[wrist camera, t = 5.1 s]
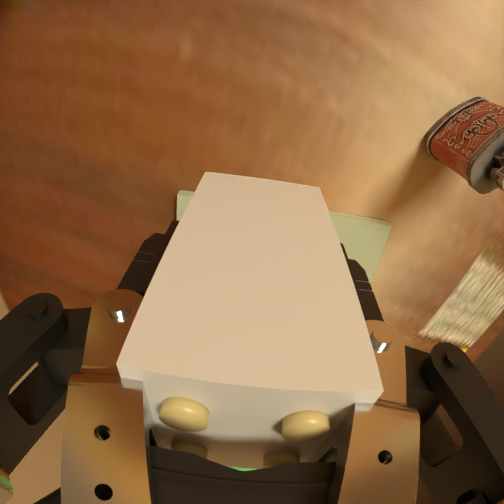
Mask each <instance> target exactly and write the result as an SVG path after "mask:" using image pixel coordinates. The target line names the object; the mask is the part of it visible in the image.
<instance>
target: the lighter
mask: <svg viewBox="0 0 504 504" xmlns="http://www.w3.org/2000/svg"><path fill="white" fill-rule="evenodd" d="M423 146H424V149H425V151H426V153H427V154H428V155H429V156H431V157H432V158H433V159H435V160H436V161H441V162H443V163H444V164H446V165H447V166H448V167H450V168H451V169H452V170H454V171H455V172H457V173H458V174H459V175H461V176H462V177H463V178H465V179H466V180H467V182H468V184H469V185H470V186H471V187H472V188H473V189H475V190H476V191H477V192H478V193H481V194H486V193H489V192H491V191H493V190H494V189H496V188H498V187H499V188H500V189H501V190H502V191H504V107H502V106H499V105H496V104H493V103H490V102H489V101H488V100H487V99H484V98H481V97H475V98H472V99H470V100H467V101H465V102H463V103H461V104H459V105H458V106H456V107H454V108H453V109H451V110H450V111H448V112H447V113H446V114H445V115H444V116H442V117H441V118H440V119H439V120H438V121H437V122H436V123H435V124H434V125H433V126H432V127H431V128H430V129H429V130H428V132H427V133H426V134H425V136H424V139H423Z"/></svg>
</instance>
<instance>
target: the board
mask: <svg viewBox="0 0 504 504" xmlns="http://www.w3.org/2000/svg"><path fill="white" fill-rule="evenodd" d="M194 193H195V192H192V191H183V190H180V191H179V193H178V194H177V221H180V220H181V218H182V216H183V214H184V212H185V210H186V208H187V206H188V204H189V202H190V200H191V198H192V196H193V194H194ZM329 214H330V217H331V220H332V222H333V225H334V228H335V230H336V233H337V236H338V239H339V242H340V243H343V245H344V248H345V251H346V253H347V256H348V259H353V260H356V261H357V262H358V263H359V264H360V265H361V266H362V268H363V269H364V270H365V272H366V274H367V277H368V280H369V283H370V282H371V280H372V278H373V275H374V273H375V270H376V268H377V265H378V263H379V260H380V258H381V255H382V253H383V250H384V248H385V245H386V242H387V240H388V237H389V235H390V232H391V229H392V226H391V224H390V223H389V221H384V220H379V219H374V218H368V217H363V216H357V215H351V214H346V213H340V212H334V211H329Z"/></svg>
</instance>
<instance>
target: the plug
mask: <svg viewBox="0 0 504 504" xmlns="http://www.w3.org/2000/svg"><path fill="white" fill-rule="evenodd" d="M116 365H117V368H118V371H119V374H120V377H121V378H127V379H133V380H139V381H143V384H144V388H145V391H146V395H147V399H148V403H149V406H150V410H151V413H152V417H153V420H154V423H155V427H156V430H157V433H158V436H159V439H160V442H161V445H162V448H166V449H171V450H176V451H182V452H187V453H192V454H195V455H197V456H200V457H203V458H205V459H208V460H211V461H213V462H216V463H219V464H222V465H225V466H228V467H238V468H250V469H262V468H268V467H273V466H278V465H283V464H288V463H293V462H307V461H308V460H309V458H310V457H311V456H312V455H313V454H314V453H315V452H316V451H317V449H318V448H319V447H320V446H321V445H322V444H323V442H324V441H325V440H326V439H327V438H328V437H329V435H330V434H331V433H332V432H333V431H334V429H335V428H336V427H337V426H338V424H339V423H340V422H341V421H342V419H343V418H344V417H345V416H346V414H347V413H348V412H349V410H350V409H351V408H352V406H353V405H354V404H355V403H375V402H376V401H377V399H378V398H379V397H380V396H381V394H382V393H383V392H384V389H383V385H382V381H381V377H380V373H379V369H378V366H377V362H376V358H375V354H374V351H373V347H372V343H371V340H370V336H369V333H368V329H367V326H366V322H365V319H364V315H363V312H362V309H361V306H360V302H359V299H358V296H357V293H356V289H355V286H354V283H353V280H352V277H351V274H350V271H349V268H348V265H347V262H346V259H345V256H344V253H343V250H342V247H341V245H340V242H339V239H338V236H337V233H336V230H335V228H334V225H333V222H332V220H331V217H330V214H329V211H328V209H327V206H326V204H325V201H324V198H323V196H322V193H321V191H320V188H319V187H314V186H308V185H301V184H295V183H289V182H282V181H275V180H268V179H261V178H254V177H246V176H238V175H230V174H222V173H213V172H205V174H204V176H203V177H202V179H201V181H200V183H199V185H198V187H197V189H196V191H195V193H194V194H193V196H192V198H191V200H190V202H189V204H188V206H187V208H186V210H185V212H184V214H183V216H182V218H181V220H180V222H179V224H178V226H177V228H176V230H175V232H174V234H173V236H172V238H171V240H170V242H169V244H168V246H167V248H166V250H165V252H164V254H163V257H162V259H161V261H160V263H159V265H158V267H157V269H156V272H155V274H154V276H153V278H152V280H151V282H150V285H149V287H148V289H147V291H146V293H145V296H144V298H143V300H142V303H141V305H140V307H139V309H138V312H137V314H136V316H135V319H134V321H133V323H132V326H131V328H130V331H129V333H128V335H127V338H126V340H125V343H124V345H123V348H122V350H121V353H120V355H119V358H118V360H117V363H116Z"/></svg>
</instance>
